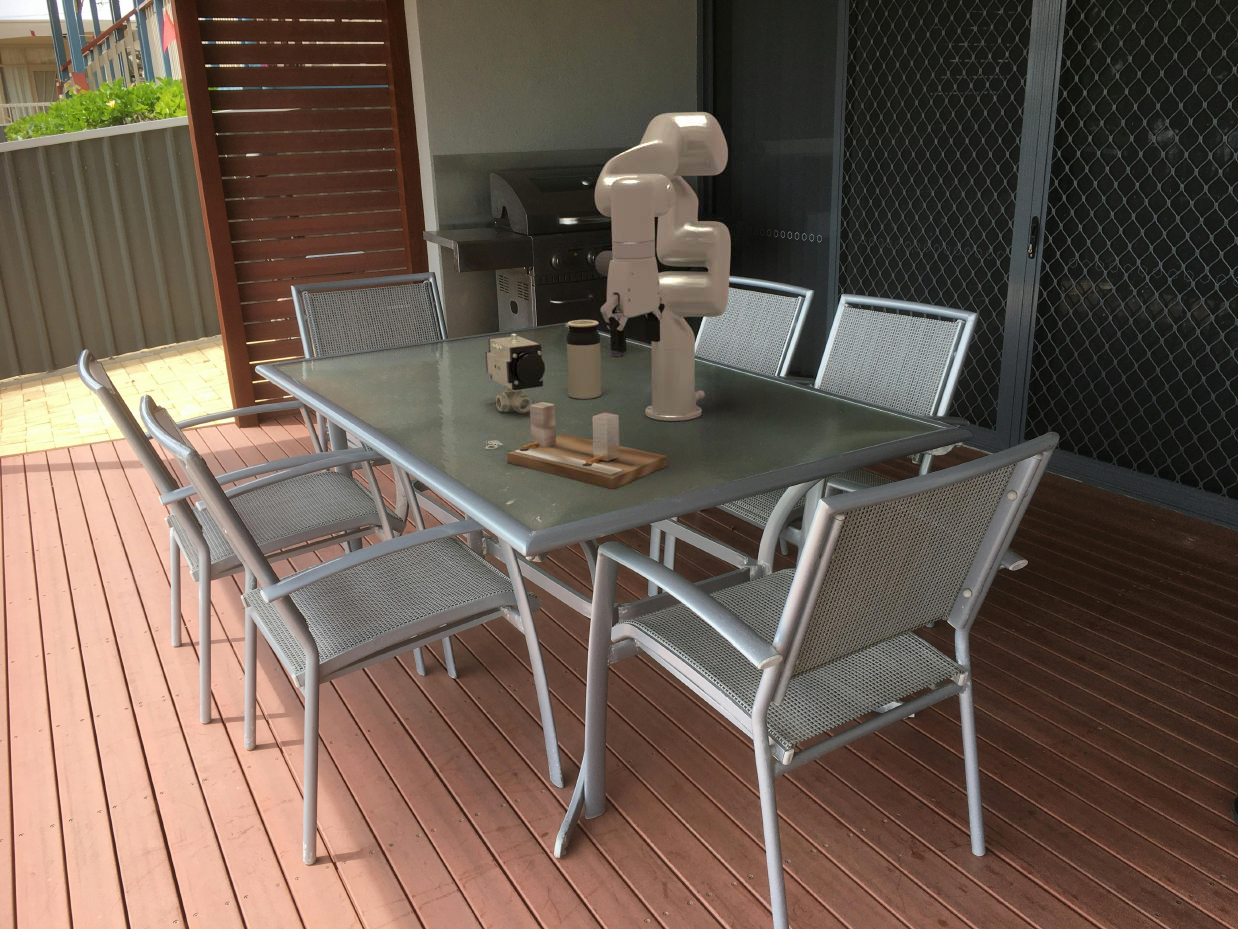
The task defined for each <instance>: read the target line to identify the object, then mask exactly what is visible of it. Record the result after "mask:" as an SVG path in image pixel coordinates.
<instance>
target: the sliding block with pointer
mask: <svg viewBox="0 0 1238 929" xmlns="http://www.w3.org/2000/svg"><path fill="white" fill-rule="evenodd" d="M619 420H620V419H619V414H616V413H615V414H614V413H609V412H602V413H598V414H596V415H593V416H592V440H593V454H594V458H593V459H590V460H588V461H586V464H591V463H593V462H596V461H599V460H604V461H610V460H612V459H615V458H618V457H619V446H620V427H619V426H620V423H619V422H620V421H619Z"/></svg>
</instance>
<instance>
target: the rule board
mask: <svg viewBox="0 0 1238 929" xmlns="http://www.w3.org/2000/svg"><path fill="white" fill-rule="evenodd" d="M555 408H556V407H555V404H553V403H548V402H542V401H541V402H538V403H533V405H530V411H529V418H530V419H529V420H530V424H529V425H530V439H531V440H530V441H531V443H528V444H526V445H523V446H522V447H521V448H518V449H515V450H512V451H509V452H507V464H508V463H509V464H512V465H516V466H519V467H524V468H527V469H532V470H536V471H539V472H542V473H543V472H544V473H548V474H551V475H554V476H559V477H563V478H568V479H571V480H574V481H575V480H576V481H579V482H584V483H586V484H590V485H595V486H600V487H602V488H607V489H611V490H615V489H616V488H618V487H619V488H620V487H621V486H624V485H627V484H628V483H631V482H633V481H634V480H635V481H636V480H637V479H640V478H643V477H645V476H647V475H649V474H651V473H654V472H657V471H658V470H661V469H663V468H667V466H668V457H667V455H664V454H659V453H655V452H650V451H646V450H641V449H636V448H632V447H629V446H628V447H627V446H623V445H619V457H618V458H615V459H612V460H610V461H604V460H599V461H596V462H593V463H591V464H586V461H588V460H590V459H593V458H594V454H593V439H590V438H585V437H581V436H576V435H572V434H568V433H567V434H566V433H562V434H559V435H557V432H556V431H557V430H556V429H557V428H556V409H555Z"/></svg>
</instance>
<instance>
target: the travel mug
mask: <svg viewBox="0 0 1238 929" xmlns="http://www.w3.org/2000/svg"><path fill="white" fill-rule="evenodd" d="M599 323H600V322H598V321H597V320H593V319H577V320H570V321H568V322H567V323H566V325H567V326H568V330H569V331H568V333H567V335H566V351H567V352H566V353H567V354H566V355H567V376H568V377H567V381H568V396H569V397H570V398H573V399H576V400H591V399H596V398H599V397H600V396H601V395H602V369H601V367H602V366H601V365H602V363H601V335H600V333H599V331H598V325H599Z"/></svg>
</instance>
